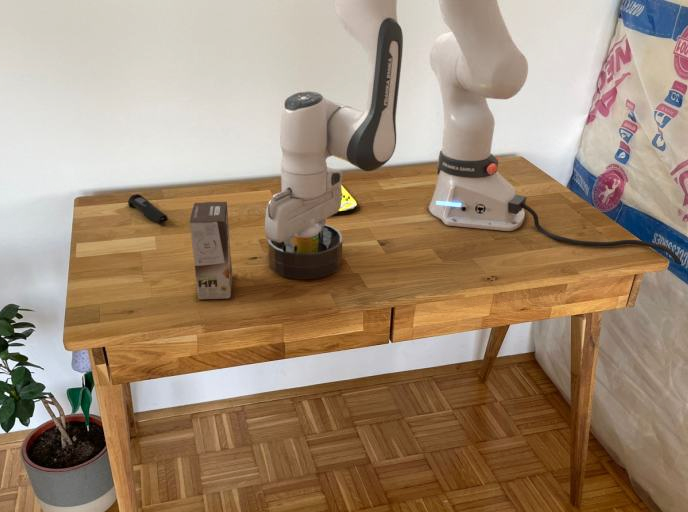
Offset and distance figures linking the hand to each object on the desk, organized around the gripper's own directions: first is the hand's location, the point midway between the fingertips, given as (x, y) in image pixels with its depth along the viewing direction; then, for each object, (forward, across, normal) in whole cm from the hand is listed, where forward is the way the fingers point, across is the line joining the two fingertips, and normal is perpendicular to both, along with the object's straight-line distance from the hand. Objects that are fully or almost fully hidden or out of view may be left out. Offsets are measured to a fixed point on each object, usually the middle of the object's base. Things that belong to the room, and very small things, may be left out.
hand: (304, 246), depth 144 cm
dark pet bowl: (+4, 0, 0) cm, 4 cm away
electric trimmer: (+4, -4, +44) cm, 44 cm away
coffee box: (+4, -18, +7) cm, 20 cm away
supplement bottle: (+4, 0, 0) cm, 4 cm away
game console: (+4, +29, +16) cm, 33 cm away
